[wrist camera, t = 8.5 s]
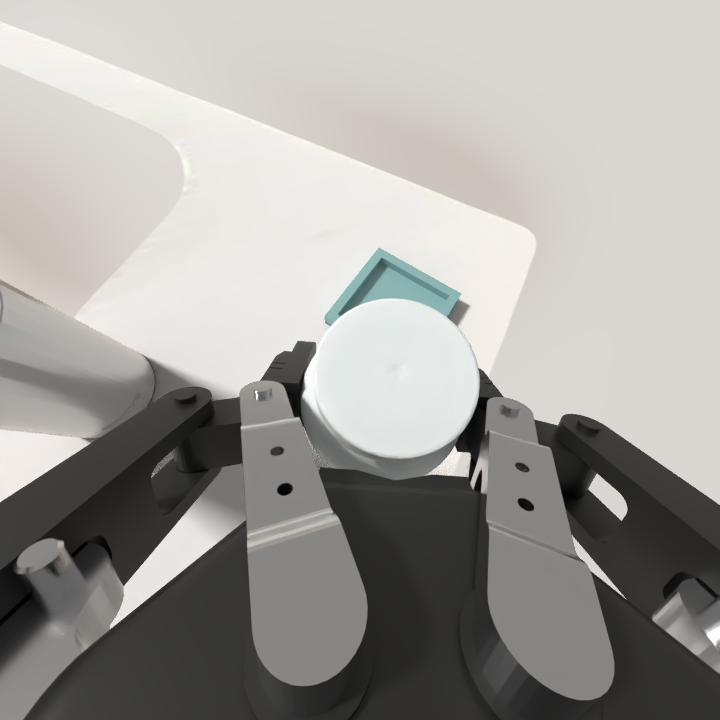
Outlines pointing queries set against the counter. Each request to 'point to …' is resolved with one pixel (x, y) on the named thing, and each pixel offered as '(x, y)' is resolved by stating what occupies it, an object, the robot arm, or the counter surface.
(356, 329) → the pill bottle
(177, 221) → the counter surface
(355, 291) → the tray
